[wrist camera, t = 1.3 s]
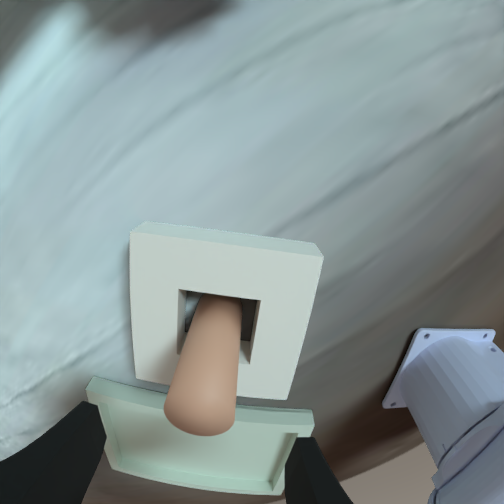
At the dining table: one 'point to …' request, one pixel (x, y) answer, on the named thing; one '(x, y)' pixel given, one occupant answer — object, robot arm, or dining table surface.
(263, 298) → the socket block
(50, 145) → the dining table surface
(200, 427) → the dowel
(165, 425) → the tray
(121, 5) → the dining table surface
